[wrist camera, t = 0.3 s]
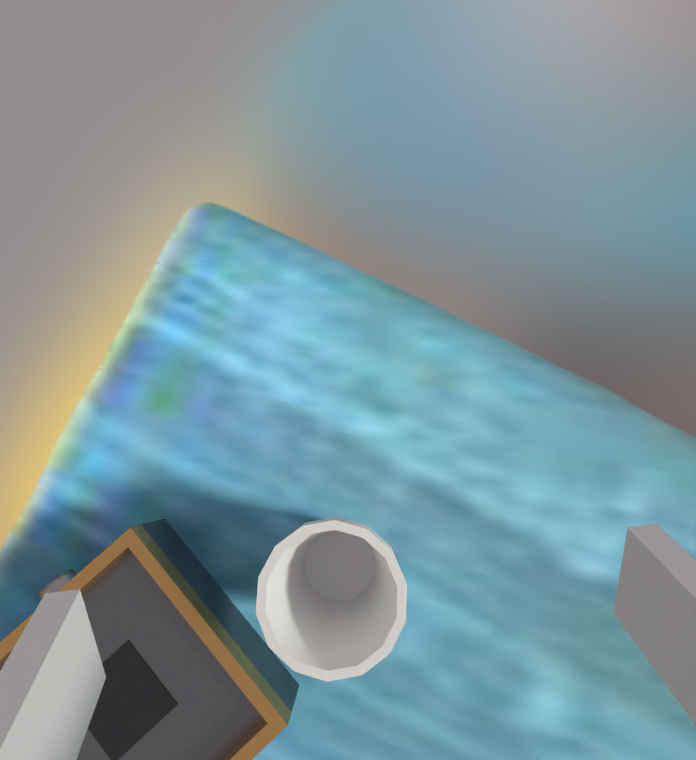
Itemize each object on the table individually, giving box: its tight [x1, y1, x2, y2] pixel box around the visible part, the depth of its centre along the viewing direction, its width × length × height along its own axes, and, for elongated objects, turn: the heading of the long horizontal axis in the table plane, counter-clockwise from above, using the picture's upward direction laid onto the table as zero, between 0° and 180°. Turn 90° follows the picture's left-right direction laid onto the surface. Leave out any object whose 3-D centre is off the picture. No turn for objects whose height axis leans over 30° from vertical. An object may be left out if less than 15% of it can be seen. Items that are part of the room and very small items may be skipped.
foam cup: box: [256, 517, 407, 682], centre depth 39 cm, size 10×9×13 cm
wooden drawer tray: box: [0, 519, 299, 760], centre depth 41 cm, size 20×18×7 cm
